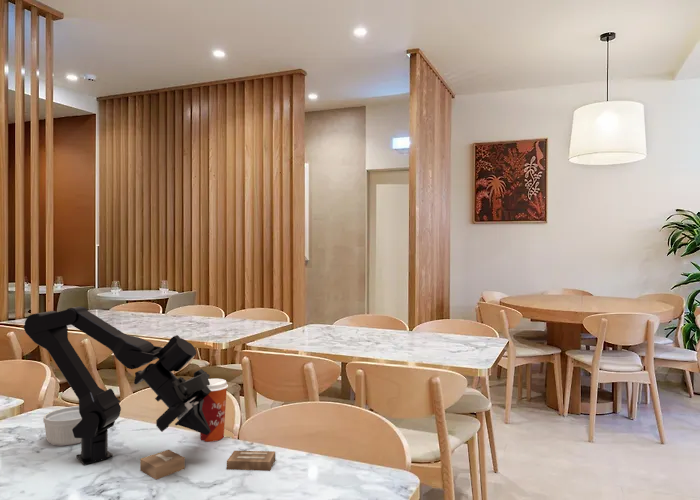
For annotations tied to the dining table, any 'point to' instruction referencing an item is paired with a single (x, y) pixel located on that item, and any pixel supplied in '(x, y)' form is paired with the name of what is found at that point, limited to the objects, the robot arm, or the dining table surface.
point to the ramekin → (62, 426)
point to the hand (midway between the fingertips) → (208, 433)
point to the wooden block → (251, 460)
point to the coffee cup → (215, 410)
